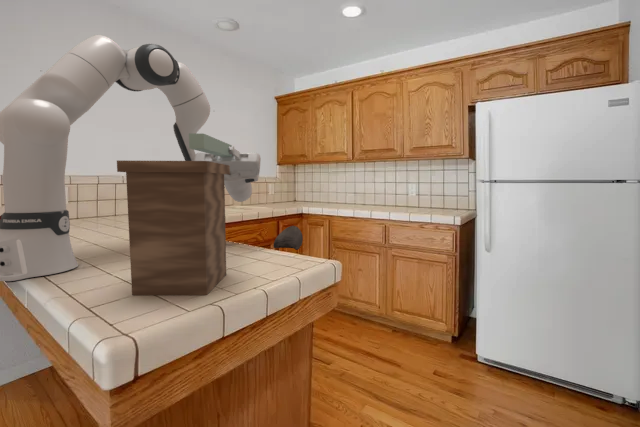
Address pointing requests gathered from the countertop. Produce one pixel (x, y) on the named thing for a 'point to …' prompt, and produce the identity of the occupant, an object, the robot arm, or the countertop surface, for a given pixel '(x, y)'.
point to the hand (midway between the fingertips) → (222, 148)
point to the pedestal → (176, 226)
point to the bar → (208, 145)
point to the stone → (289, 238)
